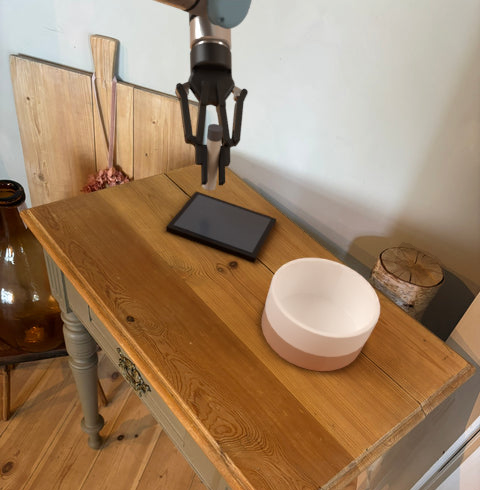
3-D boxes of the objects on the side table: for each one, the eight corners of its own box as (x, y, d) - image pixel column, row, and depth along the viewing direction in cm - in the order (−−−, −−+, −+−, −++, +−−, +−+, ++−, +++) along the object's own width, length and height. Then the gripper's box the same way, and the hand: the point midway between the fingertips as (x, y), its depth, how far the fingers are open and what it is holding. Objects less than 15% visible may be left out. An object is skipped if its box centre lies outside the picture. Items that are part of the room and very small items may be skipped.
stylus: (200, 188, 89) (205, 128, 80) (205, 181, 91) (211, 122, 82) (212, 192, 89) (219, 132, 80) (217, 185, 91) (225, 126, 82)
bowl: (241, 336, 73) (250, 300, 67) (288, 279, 84) (299, 243, 78) (339, 390, 69) (358, 357, 63) (375, 322, 80) (394, 288, 74)
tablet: (166, 231, 88) (166, 226, 87) (195, 196, 97) (196, 190, 96) (254, 263, 86) (255, 257, 85) (275, 223, 95) (277, 218, 94)
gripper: (247, 64, 89) (249, 189, 90) (165, 57, 85) (169, 186, 87) (257, 44, 81) (259, 180, 83) (168, 35, 78) (172, 177, 80)
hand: (213, 183), depth 85 cm, fingers closed on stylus, 2 cm apart
